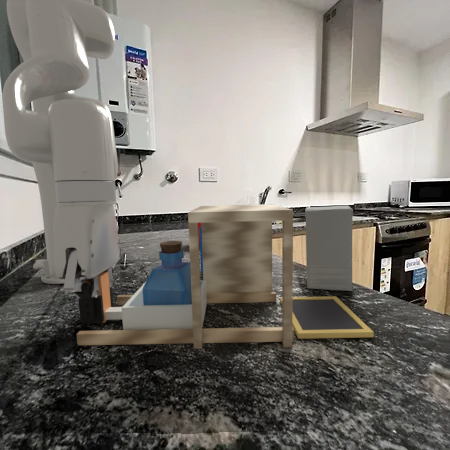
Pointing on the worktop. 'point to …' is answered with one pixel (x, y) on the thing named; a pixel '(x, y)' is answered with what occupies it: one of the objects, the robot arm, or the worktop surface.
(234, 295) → the track
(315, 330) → the yellow framed grey pad
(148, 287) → the perfume bottle
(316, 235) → the skincare box
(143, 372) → the worktop surface
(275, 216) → the tunnel
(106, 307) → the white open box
